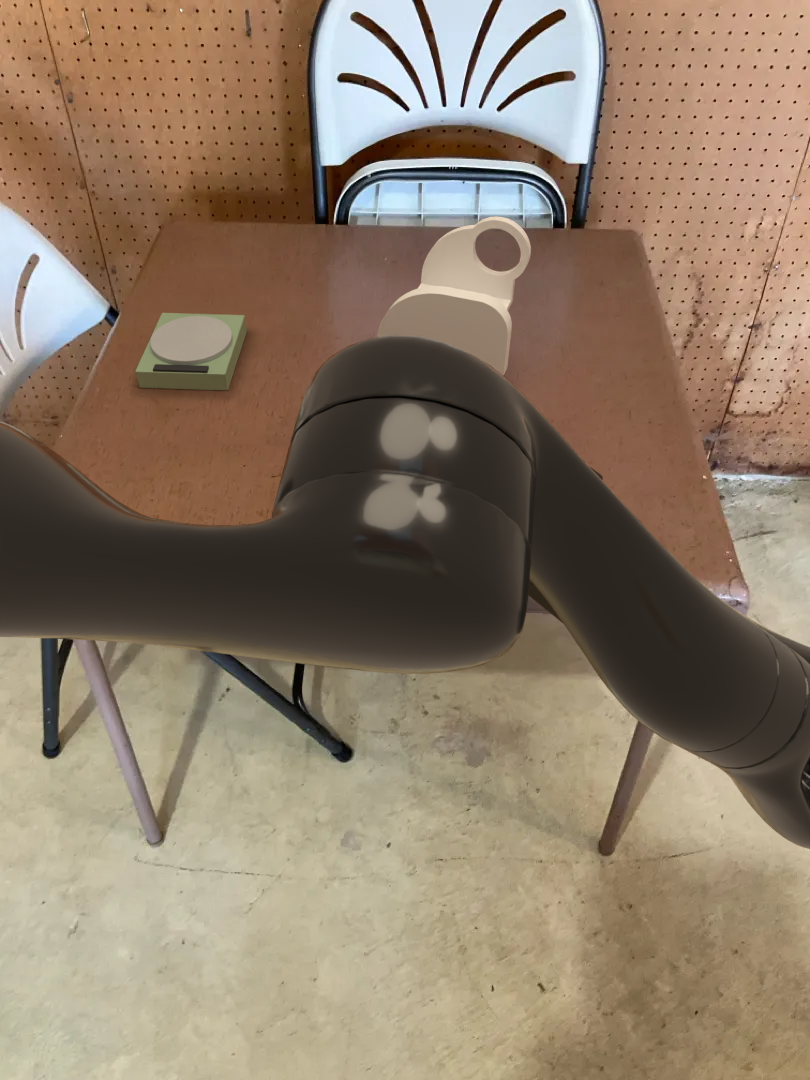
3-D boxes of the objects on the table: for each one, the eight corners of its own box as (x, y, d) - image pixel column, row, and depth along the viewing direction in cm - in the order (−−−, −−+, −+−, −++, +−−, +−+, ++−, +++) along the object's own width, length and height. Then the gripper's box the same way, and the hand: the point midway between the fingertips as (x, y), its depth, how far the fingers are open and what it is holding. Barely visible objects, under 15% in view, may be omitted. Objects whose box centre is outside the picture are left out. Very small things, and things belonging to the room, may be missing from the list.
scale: (228, 390, 94) (224, 369, 92) (139, 387, 94) (133, 366, 92) (247, 331, 102) (244, 310, 100) (165, 328, 102) (160, 308, 100)
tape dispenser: (422, 354, 99) (425, 204, 86) (529, 376, 96) (549, 224, 83) (378, 425, 90) (374, 270, 76) (495, 453, 87) (511, 296, 73)
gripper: (682, 492, 56) (509, 382, 64) (533, 600, 50) (362, 462, 58) (658, 567, 61) (501, 456, 70) (521, 673, 55) (367, 537, 64)
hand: (438, 459), depth 64 cm, fingers open, 8 cm apart
